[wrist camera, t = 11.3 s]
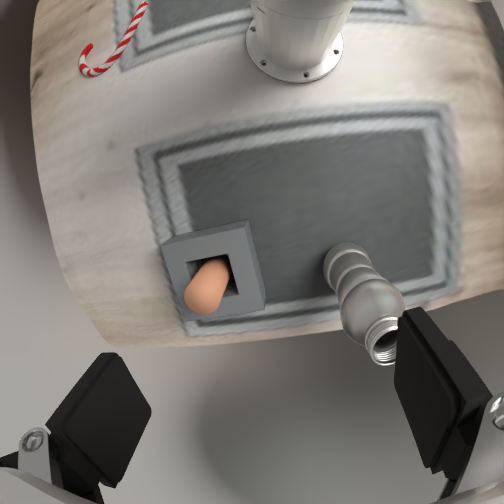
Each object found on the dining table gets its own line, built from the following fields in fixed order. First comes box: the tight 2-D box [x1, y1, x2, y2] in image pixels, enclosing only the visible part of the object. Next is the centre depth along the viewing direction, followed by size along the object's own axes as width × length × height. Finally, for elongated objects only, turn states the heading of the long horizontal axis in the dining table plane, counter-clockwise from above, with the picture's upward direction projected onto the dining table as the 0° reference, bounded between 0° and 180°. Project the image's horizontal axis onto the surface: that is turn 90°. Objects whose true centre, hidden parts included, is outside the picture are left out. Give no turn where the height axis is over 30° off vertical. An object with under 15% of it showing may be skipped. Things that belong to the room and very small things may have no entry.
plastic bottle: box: [323, 242, 405, 366], centre depth 29 cm, size 6×7×20 cm
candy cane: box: [79, 1, 148, 76], centre depth 30 cm, size 8×1×15 cm
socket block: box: [160, 220, 266, 321], centre depth 38 cm, size 11×11×4 cm
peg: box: [184, 254, 233, 315], centre depth 36 cm, size 4×4×10 cm
